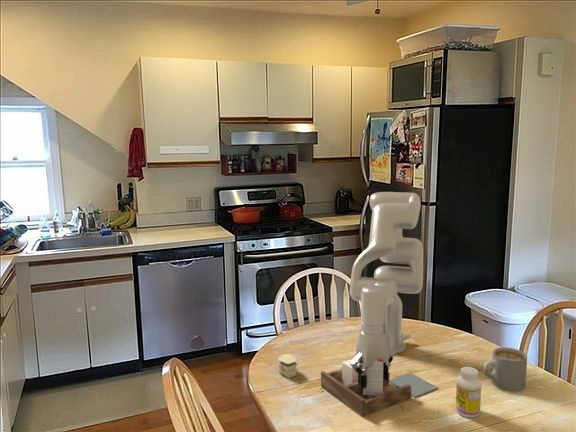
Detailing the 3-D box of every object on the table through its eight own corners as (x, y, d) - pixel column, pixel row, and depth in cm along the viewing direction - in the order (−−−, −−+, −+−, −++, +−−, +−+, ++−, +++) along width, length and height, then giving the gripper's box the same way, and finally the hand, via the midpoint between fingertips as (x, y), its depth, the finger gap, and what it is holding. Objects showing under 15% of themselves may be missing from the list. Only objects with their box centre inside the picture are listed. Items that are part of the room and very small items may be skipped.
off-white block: (354, 381, 158) (354, 358, 157) (364, 387, 154) (364, 364, 152) (342, 385, 155) (342, 362, 154) (351, 392, 151) (351, 368, 150)
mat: (410, 373, 162) (410, 372, 162) (437, 388, 152) (437, 387, 152) (387, 381, 157) (387, 380, 157) (414, 397, 147) (415, 396, 147)
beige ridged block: (307, 375, 163) (306, 359, 162) (286, 383, 158) (285, 367, 157) (289, 364, 171) (288, 350, 170) (268, 372, 166) (267, 357, 165)
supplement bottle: (451, 406, 142) (453, 365, 140) (473, 405, 142) (475, 364, 140) (461, 419, 135) (463, 376, 133) (484, 417, 136) (486, 375, 134)
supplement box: (383, 398, 143) (383, 362, 141) (363, 396, 144) (362, 360, 142) (383, 388, 148) (383, 353, 147) (364, 387, 150) (363, 352, 148)
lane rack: (367, 371, 164) (367, 357, 164) (411, 397, 147) (411, 382, 146) (321, 386, 155) (320, 372, 154) (362, 417, 137) (362, 400, 136)
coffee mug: (518, 376, 159) (520, 347, 157) (530, 391, 149) (532, 361, 148) (476, 375, 160) (477, 346, 159) (485, 390, 150) (487, 360, 149)
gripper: (387, 317, 150) (386, 369, 153) (342, 329, 142) (342, 384, 144) (404, 324, 144) (403, 379, 147) (358, 338, 135) (358, 396, 138)
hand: (373, 381), depth 146 cm, fingers closed on supplement box, 8 cm apart
